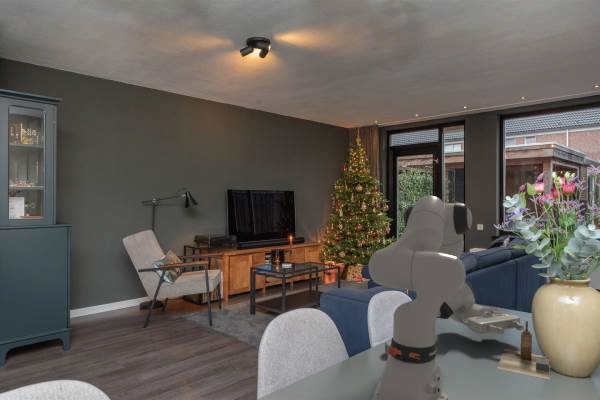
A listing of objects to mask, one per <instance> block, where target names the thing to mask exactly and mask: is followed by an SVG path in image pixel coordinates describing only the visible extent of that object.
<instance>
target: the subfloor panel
mask: <svg viewBox="0 0 600 400" xmlns="http://www.w3.org/2000/svg"><path fill="white" fill-rule="evenodd" d="M537 356H538V357H541V356H542V357H543V356H544V355H540V354H538V355H537V354H533V353H532V357H531V359H523V358H521V351H518V350H512V349H507V348H503V352H502V354H501V357H500V359H499V361H498V365H497V368H496V369H497V370H502V371H505V372H510V373H516V374H520V375H526V376H529V377H535V378H538V379H545V380H548V381H550V380H551V378H550V376H551V364H550V365H549V372H545V371H541V370H536V359H537Z"/></svg>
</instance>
